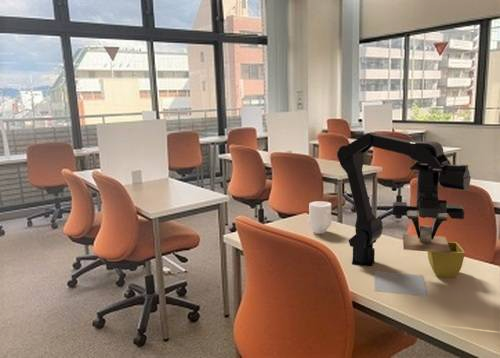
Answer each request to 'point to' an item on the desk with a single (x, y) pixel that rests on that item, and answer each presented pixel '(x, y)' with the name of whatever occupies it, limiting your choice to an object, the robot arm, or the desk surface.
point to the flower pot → (447, 261)
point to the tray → (400, 283)
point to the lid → (425, 241)
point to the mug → (320, 216)
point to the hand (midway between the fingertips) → (425, 238)
